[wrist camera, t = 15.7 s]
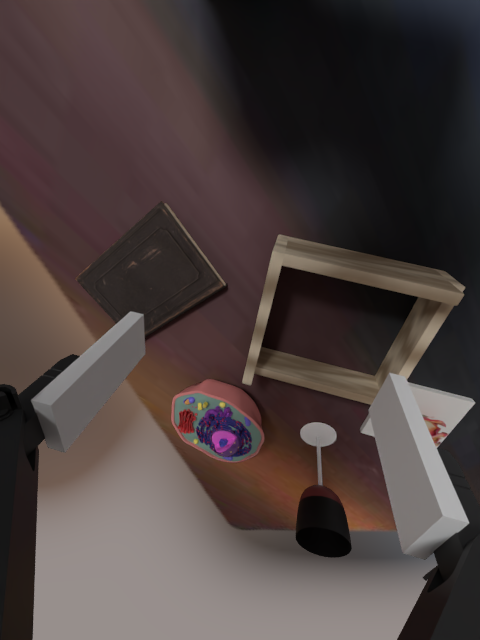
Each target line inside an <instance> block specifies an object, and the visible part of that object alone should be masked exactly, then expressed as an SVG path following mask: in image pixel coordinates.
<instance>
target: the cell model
mask: <svg viewBox="0 0 480 640" xmlns="http://www.w3.org/2000/svg"><path fill="white" fill-rule="evenodd" d="M171 419H172V424H173V426H174V427H175V429H176V431H177V432H178V434H179V436H180V437H181V439H182V440H183V441H184V442H185V443H187V444H189V445H191V446H192V447H194V448H196V449H198V450H200V451H202V452H203V453H205V454H207V455H208V456H210V457H212V458H214V459H217V460H220V461H224V462H230V463H238V462H243V461H245V460H248V459H250V458H252V457H254V456H256V455H257V454H258V452H259V450H260V448H261V446H262V444H263V443H264V433H263V430H262V419H261V415H260V412H259V410H258V407H257V405H256V404H255V402H254V401H253V399H252V398H251V397H250V396H249V395H248V394H247V393H246V392H245V391H243V390H242V389H240V388H238V387H236V386H233V385H230V384H227V383H224V382H221V381H218V380H214V379H206V380H204V381H203V382H200V383H196V384H193V385H191V386H189V387H187V388H185V389H184V390H182V391H181V392H180V393H178V394H177V395H176V396H175V397H174V398H173V401H172V417H171Z"/></svg>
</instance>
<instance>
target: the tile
mask: <svg viewBox="0 0 480 640" xmlns="http://www.w3.org/2000/svg"><path fill="white" fill-rule="evenodd" d="M408 384H409V387H410V389H411V391H412V393H413V396H414V398H415V400H416V403H417V405H418V407H419V409H420V412H421V414H422V415H425V416H428V417H427V418H429V419H431V420H440V421H443V422H444V423H445V424H446V427H444V426H442V425H439V424H438V425H437V427H439V428H441V430H440V431H439V432H438V433H442V432H446V433H447V434H449V433H450V432H451V431H452V430H453V428H454V427H455V426H456V425H457V424H458V423H459V421H460V420H461V419H462V418H463V417H464V416H465V414H466V413H467V412H468V411H469V410H470V409H471V407H472V406H473V405H474V404H475V402H474V400H473V399H471V398H467V397H464V396H460V395H456V394H452V393H448V392H444V391H440V390H436V389H432V388H429V387H425V386H421V385H417V384H413V383H409V382H408ZM431 417H432V418H431ZM360 431H361V433H363V434H367V435H370V436H374V437H375V435H374V431H373V427H372V423H371V418H370V414H368V416H367V418H366V419H365V421H364V423H363V424H362V426H361V428H360ZM446 437H447V436H446ZM446 437H440V438H442V439H440V440H439V441H438V442H441V443H442V441H443V440H444V439H445V438H446ZM439 445H440V444H439ZM437 447H438V446H436V448H437Z"/></svg>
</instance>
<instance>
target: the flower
mask: <svg viewBox="0 0 480 640" xmlns="http://www.w3.org/2000/svg"><path fill="white" fill-rule="evenodd" d="M422 416H423V419H424V421H425V423H426V425H427V428H428V430H429V432H430V434H431V437H432V439H433V441H434V444H435V446H439V444H441V442H438V441H439V440H440V439H442V438H440V437H446V436H448V434H447V433H446V432H442V433H438V432H439V431H440V430H441V428H439V427H437V425H438V424H439V425H442V426H444V427H446V424H445V423H444V422H443V421H440V420H431V419H429V418H427V417H428V416H425V415H422ZM431 418H432V417H431Z"/></svg>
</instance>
